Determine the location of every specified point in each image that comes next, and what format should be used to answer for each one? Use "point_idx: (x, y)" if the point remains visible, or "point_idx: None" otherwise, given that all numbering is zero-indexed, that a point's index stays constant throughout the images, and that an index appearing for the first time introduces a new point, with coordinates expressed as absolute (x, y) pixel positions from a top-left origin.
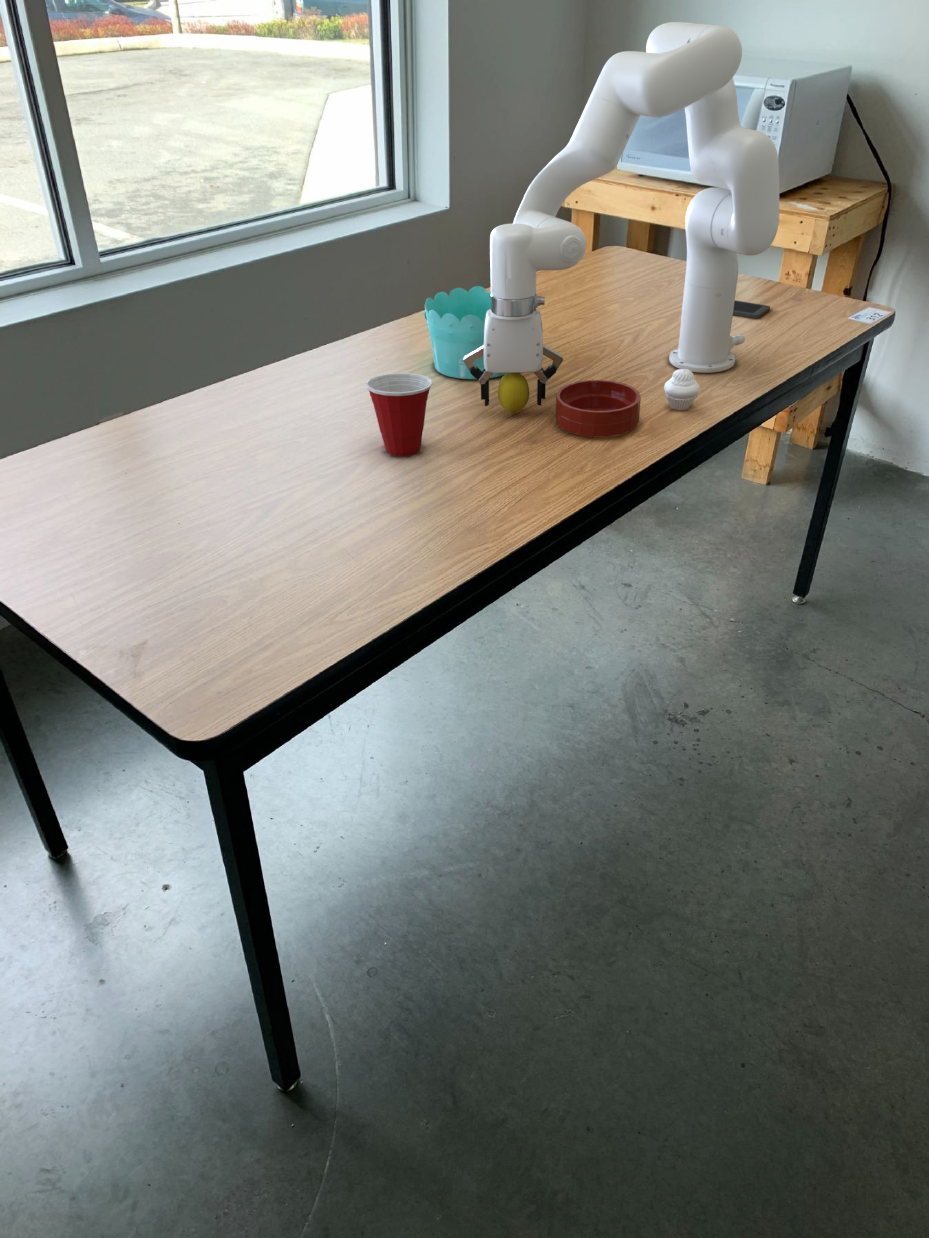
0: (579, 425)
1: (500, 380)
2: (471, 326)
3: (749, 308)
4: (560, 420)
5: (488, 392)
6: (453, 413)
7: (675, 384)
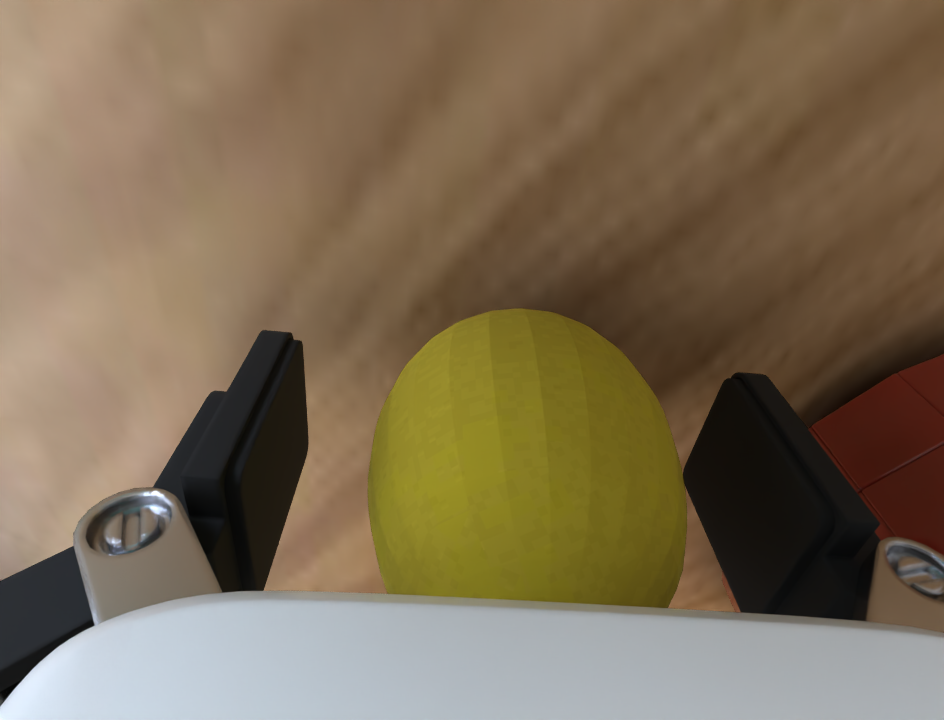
0: None
1: (384, 554)
2: None
3: None
4: (737, 610)
5: (276, 540)
6: (34, 276)
7: None
